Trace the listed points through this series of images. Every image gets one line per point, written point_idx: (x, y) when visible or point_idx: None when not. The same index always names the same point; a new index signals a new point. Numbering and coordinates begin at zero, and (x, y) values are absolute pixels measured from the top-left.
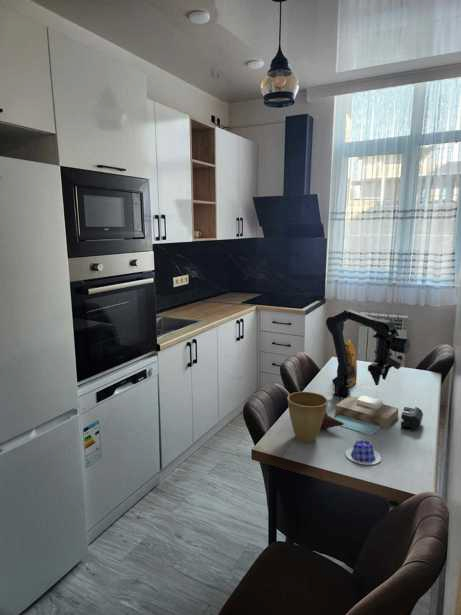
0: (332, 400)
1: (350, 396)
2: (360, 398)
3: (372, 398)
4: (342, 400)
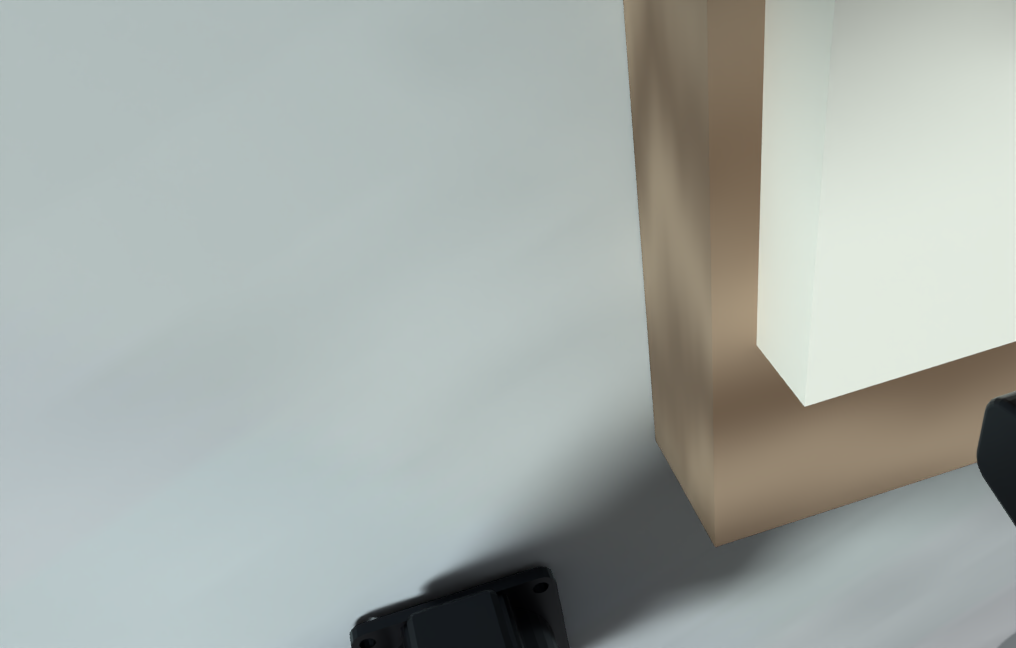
0: (699, 582)
1: (741, 518)
2: (990, 325)
3: (851, 189)
4: (975, 462)
